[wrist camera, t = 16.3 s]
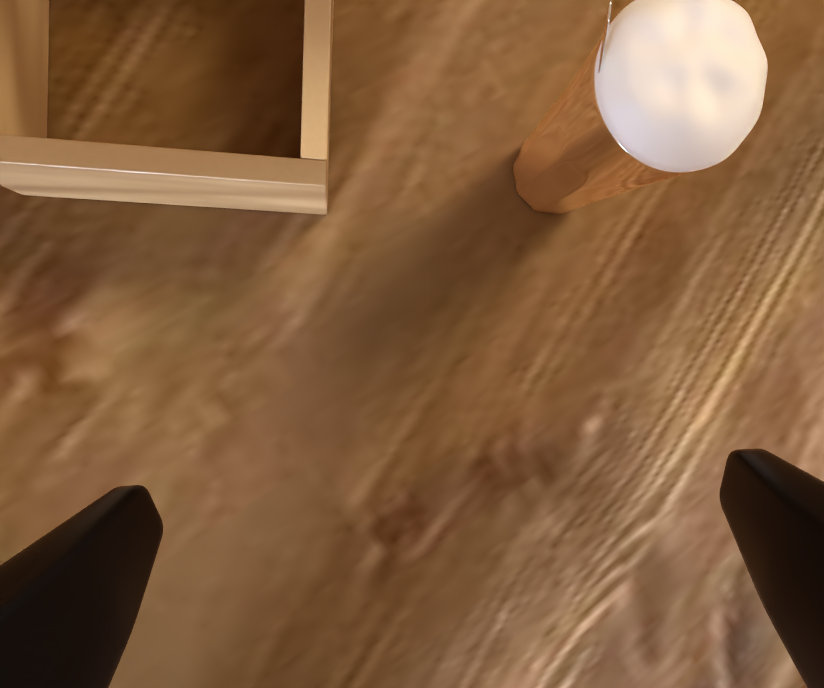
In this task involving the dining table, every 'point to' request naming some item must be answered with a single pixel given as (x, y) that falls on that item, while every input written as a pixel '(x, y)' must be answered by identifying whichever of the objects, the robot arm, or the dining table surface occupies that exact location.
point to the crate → (155, 166)
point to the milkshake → (647, 104)
